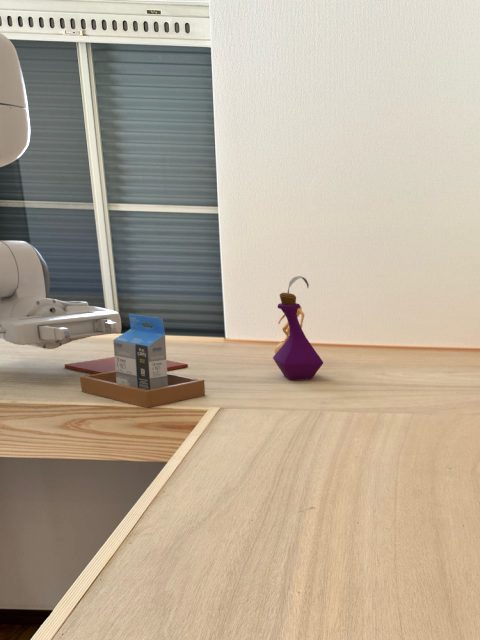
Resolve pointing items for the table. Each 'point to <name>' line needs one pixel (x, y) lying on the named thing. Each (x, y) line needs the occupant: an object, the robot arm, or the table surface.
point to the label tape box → (141, 354)
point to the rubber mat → (111, 365)
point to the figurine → (288, 328)
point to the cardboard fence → (173, 392)
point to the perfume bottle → (296, 343)
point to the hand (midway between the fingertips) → (91, 331)
